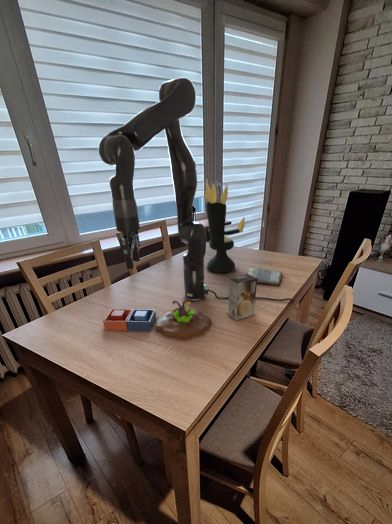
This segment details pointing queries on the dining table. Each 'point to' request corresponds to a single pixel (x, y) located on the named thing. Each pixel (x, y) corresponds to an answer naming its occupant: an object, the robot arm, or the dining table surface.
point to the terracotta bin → (117, 324)
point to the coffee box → (242, 296)
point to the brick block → (118, 315)
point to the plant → (183, 322)
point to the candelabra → (219, 231)
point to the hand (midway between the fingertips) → (133, 264)
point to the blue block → (141, 316)
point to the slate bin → (141, 325)
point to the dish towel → (266, 276)
